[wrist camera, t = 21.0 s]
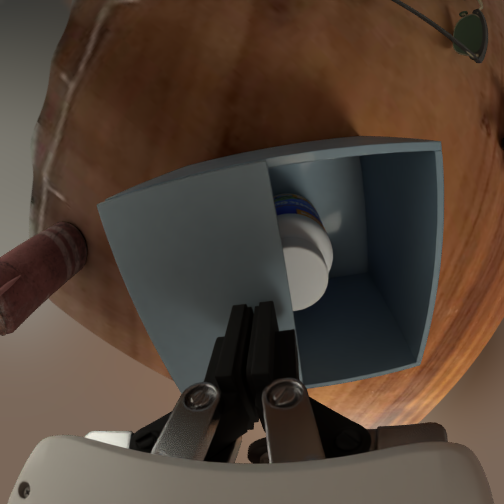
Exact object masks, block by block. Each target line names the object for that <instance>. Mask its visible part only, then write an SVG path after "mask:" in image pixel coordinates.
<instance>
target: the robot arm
mask: <svg viewBox="0 0 504 504" xmlns="http://www.w3.org/2000/svg"><path fill="white" fill-rule="evenodd" d="M259 419H260V421H261V424H262V427H263V429H264V431H265V432H266V439H267V447H268V452H266V453H264V454H263V455H262V456H261V457H260V463H259V464H240V463H235V460H236V457H237V454H238V451H239V448H240V445H241V442H242V435H243V434H245V433H246V432H247V430H252V429H254V422H258V421H259ZM7 504H494V502H493V498H492V494H491V490H490V486H489V483H488V481H487V478H486V475H485V472H484V470H483V468H482V466H481V464H480V462H479V460H478V458H477V457H476V455H475V454H474V453H473V452H472V451H471V450H470V449H469V448H468V447H466V446H464V445H461V444H458V443H452V442H448V441H447V433H446V430H445V429H444V427H443V426H442V425H440V424H438V423H431V422H428V423H420V424H411V425H399V426H382V427H378V428H377V429H365V428H364V427H363V426H361V425H359V424H357V423H355V422H353V421H351V420H350V419H348V418H346V417H344V416H342V415H340V414H339V413H337V412H335V411H333V410H331V409H330V408H328V407H326V406H324V405H323V404H321V403H319V402H317V401H316V400H314V399H312V398H311V397H309V395H308V392H307V389H306V387H305V385H304V384H303V383H302V382H301V381H300V379H299V361H298V350H297V342H296V335H295V330H294V329H291V330H283V331H279V328H278V322H277V317H276V312H275V307H274V302H273V301H265V302H260V303H259V306H255V309H254V313H253V309H252V307H247V304H240V305H233V306H232V310H231V314H230V317H229V321H228V325H227V329H226V333H225V336H223V337H217V339H216V341H215V344H214V348H213V351H212V355H211V358H210V362H209V365H208V368H207V372H206V375H205V379H204V382H199V383H195V384H193V385H190V386H189V387H188V388H186V389H185V390H184V391H183V393H182V394H181V396H180V398H179V400H178V402H177V404H176V406H175V407H174V409H173V411H172V412H170V413H168V414H166V415H165V416H163V417H161V418H160V419H158V420H156V421H154V422H153V423H151V424H149V425H147V426H145V427H143V428H141V429H140V430H138V431H137V432H136V433H133V432H132V431H93V432H90V433H88V434H87V435H86V436H85V437H80V436H73V435H57V436H51V437H47V438H45V439H43V440H42V441H41V442H40V443H39V444H38V445H37V446H36V448H35V449H34V450H33V452H32V453H31V455H30V456H29V458H28V460H27V462H26V463H25V465H24V467H23V469H22V471H21V473H20V475H19V477H18V479H17V481H16V484H15V486H14V488H13V491H12V493H11V495H10V498H9V500H8V503H7Z"/></svg>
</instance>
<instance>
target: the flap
mask: <svg viewBox="0 0 504 504" xmlns="http://www.w3.org/2000/svg"><path fill="white" fill-rule="evenodd" d="M97 208H98V211H99V214H100V217H101V221H102V224H103V227H104V230H105V232H106V235H107V238H108V241H109V244H110V247H111V249H112V252H113V255H114V257H115V260H116V263H117V265H118V268H119V270H120V273H121V275H122V278H123V280H124V282H125V285H126V287H127V289H128V292H129V294H130V296H131V298H132V301H133V303H134V305H135V307H136V310H137V312H138V314H139V316H140V318H141V320H142V322H143V324H144V326H145V328H146V330H147V332H148V334H149V336H150V338H151V340H152V342H153V344H154V346H155V348H156V350H157V352H158V353H159V355H160V357H161V359H162V361H163V363H164V364H165V366H166V368H167V370H168V371H169V373H170V375H171V377H172V378H173V380H174V382H175V383H176V385H177V387H178V388H179V390H180V392H181V393H183V391H184V390H185V389H186V388H188V387H189V386H190V385H193V384H195V383H199V382H204V379H205V375H206V372H207V368H208V365H209V362H210V358H211V355H212V351H213V348H214V344H215V341H216V339H217V337H223V336H225V333H226V329H227V325H228V321H229V317H230V314H231V310H232V306H233V305H240V304H247V307H252V309H253V313H254V309H255V306H259V303H260V302H265V301H273V302H274V307H275V312H276V317H277V322H278V328H279V331H283V330H291V329H294V330H295V335H296V328H295V321H294V314H293V308H292V301H291V295H290V289H289V283H288V276H287V270H286V264H285V258H284V253H283V247H282V241H281V235H280V230H279V224H278V219H277V213H276V208H275V202H274V197H273V192H272V187H271V182H270V176H269V171H268V166H267V162H266V161H260V162H254V163H249V164H244V165H239V166H234V167H230V168H225V169H220V170H216V171H212V172H207V173H203V174H199V175H195V176H191V177H187V178H183V179H179V180H175V181H171V182H167V183H164V184H160V185H157V186H153V187H150V188H146V189H143V190H139V191H136V192H133V193H129V194H126V195H123V196H120V197H117V198H114V199H111V200H108V201H105V202H102V203H99V204H97ZM296 342H297V350H298V361H299V379H300V381H301V382H302V383H303V378H302V370H301V363H300V356H299V349H298V341H297V335H296Z"/></svg>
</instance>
